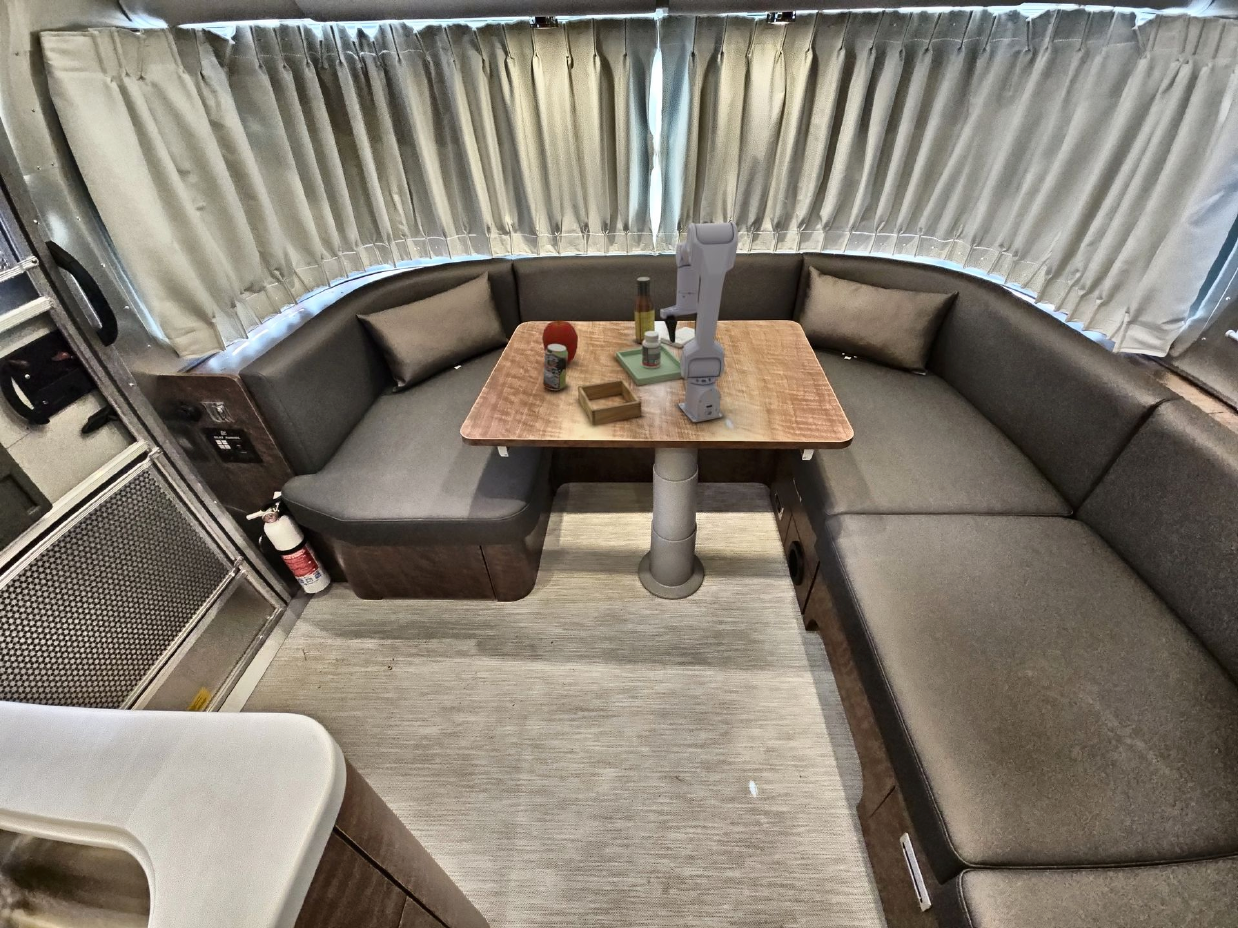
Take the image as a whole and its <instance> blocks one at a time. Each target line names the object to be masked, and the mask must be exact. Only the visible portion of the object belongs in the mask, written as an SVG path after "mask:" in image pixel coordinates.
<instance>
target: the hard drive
mask: <svg viewBox="0 0 1238 928" xmlns="http://www.w3.org/2000/svg"><path fill="white" fill-rule="evenodd" d="M694 338H695V328H691V327H689V326H682V327H681V328H679V329H676V333H675V343H672V342H671V341H670V338H669V333H668V334H666V335H663V336H662V337H660V342H661V343H664V344H667V345H669V346H672V347H675V348H679V349H680V348H684V345H686V344H687V343H689V342H690V341H692V340H693V339H694Z"/></svg>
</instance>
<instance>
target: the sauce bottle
mask: <svg viewBox="0 0 1238 928" xmlns="http://www.w3.org/2000/svg"><path fill="white" fill-rule="evenodd" d="M636 285H637V295H636V297H635V300H634V310H633V311H634V329H635V330H634V333H635V341H636V343H638V344H641V345H642V342H643V341H644V340H645V338H644V336H645V332H648V331H655V332H656V328H655V327H656V323H655V304H654V301H653V297H652V294H651V278H650V277H648V276H641V277H638V278H637V279H636Z"/></svg>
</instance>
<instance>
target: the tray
mask: <svg viewBox="0 0 1238 928" xmlns="http://www.w3.org/2000/svg"><path fill="white" fill-rule="evenodd" d="M615 359H616V361H618V363H620V365H621V366H622V368H623V369H624V370H625V372H627V375H629V377H630V378H631V379H632V380H633V382H634V383H635V384H636V385H637V386H642V385H649V384H655V383H661V382H667V381H672V380H679V379H684V378H683V377H682V375H681V370H680V359H679V358H678V357H677V356H676V355H675V354H674V352H672V351H671V350H670V349H669V348H668V347H667V346H666V345H665V344H661V359H660V366H659V367H657V368H654V369H648V368H645V367H643V365H642V347H638V348H633V349H627V350H620V351H615Z"/></svg>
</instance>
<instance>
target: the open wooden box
mask: <svg viewBox="0 0 1238 928" xmlns="http://www.w3.org/2000/svg"><path fill="white" fill-rule="evenodd" d="M577 395H578V401H579V403H580V406H581V407H582V408H583V410H584V412H585V414H586V416H587V418H588V419H589V421H590V423H591V425H592V426H596V425H601V424H606V423H611V422H617V421H623V420H627V419H634V418H638V417H642V401H641V400H640V399H639V398H638V396H637V395H636V393H635V392H634V391H633V390H632V388H631V387H630V385H629V384H628V383H627V381H626V380H625V379H624V378H621V379H617V380H616V379H614V380H609V381H602V382H598V383H591V384H586V385H580V386H577ZM619 395H622V396H623V398H624V399H625V401H626V403H621V404H620V403H619V404H614V405H608V406H603V407H598V408H595V407H594V406H593V405H592V403H591V401H590V400H595V399H601V398H607V397H612V396H619Z"/></svg>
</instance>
